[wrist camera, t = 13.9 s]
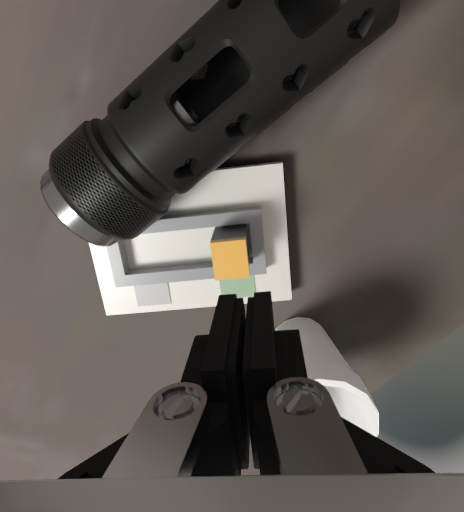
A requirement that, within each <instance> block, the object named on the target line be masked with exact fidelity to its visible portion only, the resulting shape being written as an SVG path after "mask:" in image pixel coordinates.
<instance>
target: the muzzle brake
mask: <svg viewBox="0 0 464 512" xmlns="http://www.w3.org/2000/svg"><path fill="white" fill-rule="evenodd" d="M399 7H400V0H219V1H218V2H217V3H216V4H215V5H214V6H213V7H212V8H211V9H210V10H209V11H208V12H206V13H205V14H204V15H203V16H202V17H201V18H200V19H199V20H198V21H197V22H196V23H195V24H194V25H193V26H192V27H190V28H189V29H188V30H187V31H186V32H185V33H184V34H183V35H182V36H181V37H180V38H179V39H178V40H177V41H176V42H175V43H173V44H172V45H171V46H170V47H169V48H168V49H167V50H166V51H165V52H164V53H163V54H162V55H161V56H160V57H159V58H157V59H156V60H155V61H154V62H153V63H152V64H151V65H150V66H149V67H148V68H147V69H146V70H145V71H144V72H143V73H141V74H140V75H139V76H138V77H137V78H136V79H135V80H134V81H133V82H132V83H131V84H130V85H129V86H128V87H127V88H125V89H124V90H123V91H122V92H121V93H120V94H119V95H118V96H117V97H116V98H115V99H114V100H113V101H112V102H111V103H110V104H109V105H108V108H107V112H108V115H107V116H106V117H105V118H104V119H103V120H101V119H97V118H95V119H92V120H91V121H85V122H83V123H82V124H81V125H80V126H79V127H78V128H77V129H76V130H75V131H74V132H73V133H72V134H70V135H69V136H68V137H67V138H66V139H65V140H64V141H63V142H62V143H61V144H60V145H59V146H58V147H57V148H56V149H55V150H54V151H53V152H52V153H51V156H50V161H49V169H48V170H47V171H46V172H45V173H44V174H43V176H42V177H41V181H40V188H41V192H42V195H43V197H44V199H45V201H46V203H47V205H48V207H49V208H50V210H51V211H52V212H53V214H54V215H55V216H56V217H57V218H58V220H59V221H60V222H61V223H62V224H63V225H64V226H65V227H67V228H68V229H69V230H70V231H72V232H73V233H74V234H76V235H77V236H79V237H80V238H82V239H83V240H85V241H87V242H89V243H91V244H94V245H97V246H103V247H106V246H111V245H113V244H115V243H116V242H118V241H119V240H127V239H133V238H136V237H137V236H139V235H140V234H141V233H143V232H144V231H145V230H146V229H147V228H149V227H150V226H151V225H152V224H154V223H155V222H156V221H157V220H159V219H160V218H161V217H162V216H164V215H165V214H166V213H167V211H168V208H169V207H170V205H171V197H172V196H173V195H175V194H176V193H177V194H183V193H187V192H188V191H189V190H190V189H192V188H193V187H194V186H195V185H196V184H197V183H198V182H199V181H200V180H202V179H203V178H204V177H205V176H206V175H208V174H209V173H211V172H212V171H214V170H215V169H216V168H217V167H219V166H220V165H221V164H222V163H224V162H225V161H226V160H227V159H229V158H230V157H231V156H232V155H234V154H235V153H236V152H237V151H238V150H240V149H241V148H242V147H243V146H244V145H245V144H246V143H247V142H249V141H250V140H251V139H252V138H253V137H255V136H256V135H258V134H259V133H261V132H262V131H263V130H264V129H266V128H267V127H268V126H269V125H271V124H272V123H273V122H274V121H276V120H277V119H278V118H279V117H280V116H282V115H283V114H284V113H285V112H287V111H288V110H289V109H290V108H291V107H292V106H293V105H294V104H295V103H296V102H298V101H299V100H300V99H302V98H303V97H304V96H305V95H307V94H308V93H310V92H311V91H313V90H314V89H315V88H316V87H318V86H319V85H320V84H321V83H322V82H324V81H325V80H326V79H327V78H329V77H330V76H331V75H332V74H334V73H335V72H336V71H337V70H339V69H340V68H341V67H342V66H343V65H345V64H346V63H347V62H348V61H349V60H350V59H351V58H352V57H353V56H354V55H356V54H357V53H358V52H360V51H361V50H362V49H363V48H365V47H366V46H368V45H369V44H371V43H372V42H373V41H374V40H376V39H377V38H378V37H379V36H381V35H382V34H383V33H384V32H385V31H387V30H388V29H389V28H390V27H392V25H393V24H394V23H395V22H396V19H397V17H398V13H399ZM204 65H205V67H204V72H203V77H199V76H197V77H192V76H193V75H194V74H195V73H196V72H197V71H198V70H199V69H200V68H202V67H203V66H204ZM284 81H287V82H284ZM237 119H241V121H240V122H239V123H237V124H236V126H234V127H232V126H233V123H236V121H237Z"/></svg>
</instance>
